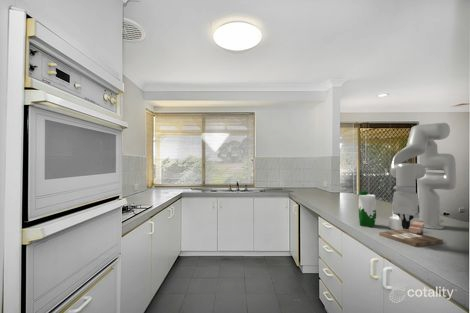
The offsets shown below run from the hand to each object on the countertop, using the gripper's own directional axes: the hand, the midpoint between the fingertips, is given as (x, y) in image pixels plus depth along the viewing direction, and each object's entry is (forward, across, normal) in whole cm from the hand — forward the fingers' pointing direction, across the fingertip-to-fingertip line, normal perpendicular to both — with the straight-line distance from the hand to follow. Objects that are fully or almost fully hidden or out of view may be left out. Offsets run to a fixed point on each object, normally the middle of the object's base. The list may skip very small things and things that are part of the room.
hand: (405, 228), depth 116 cm
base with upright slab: (+6, -13, +22) cm, 26 cm away
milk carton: (+6, -26, +14) cm, 30 cm away
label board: (+6, -1, +6) cm, 9 cm away
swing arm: (0, +3, +5) cm, 6 cm away
